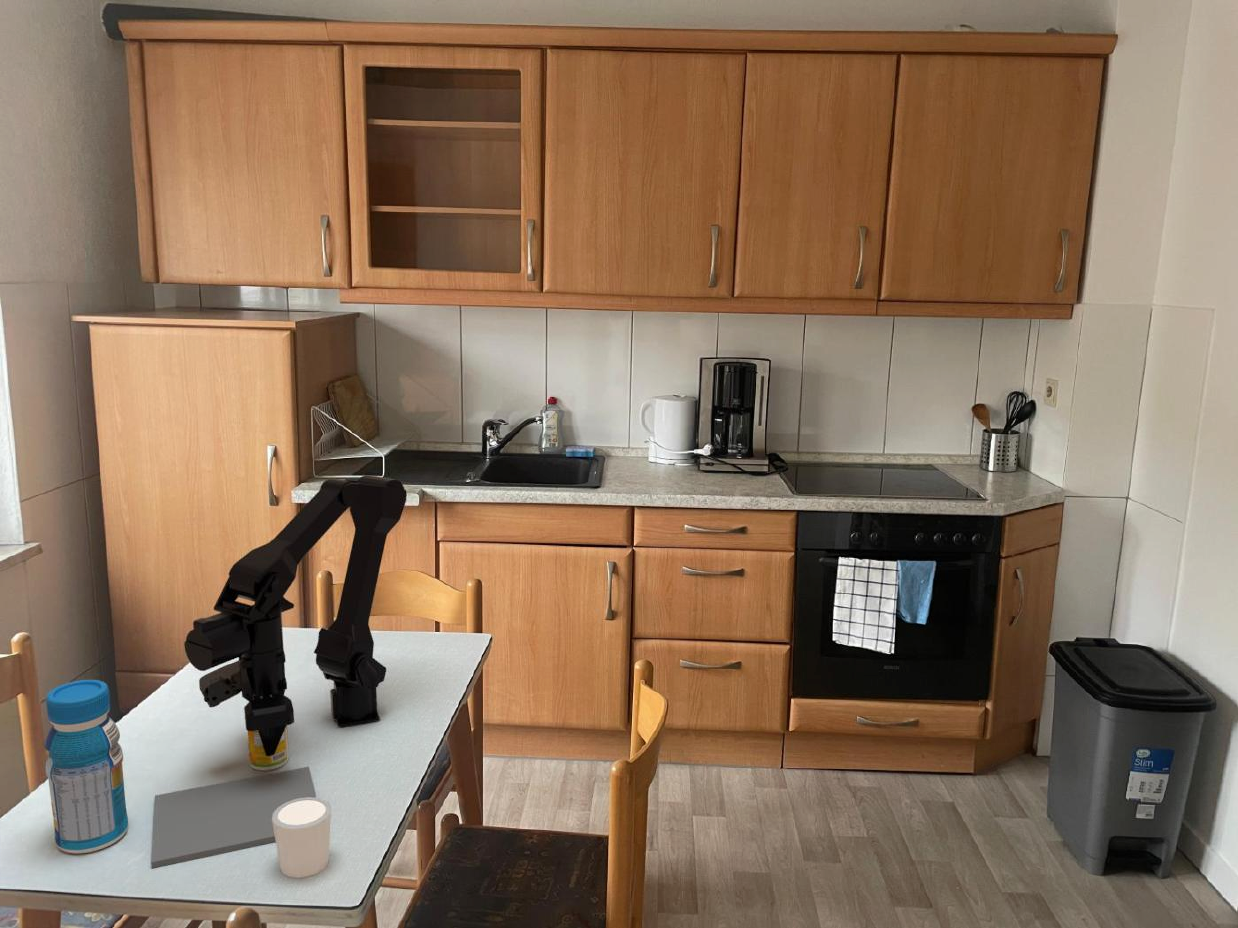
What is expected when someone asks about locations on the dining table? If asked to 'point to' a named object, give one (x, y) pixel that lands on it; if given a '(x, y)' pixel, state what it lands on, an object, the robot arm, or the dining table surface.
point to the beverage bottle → (84, 768)
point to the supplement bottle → (258, 754)
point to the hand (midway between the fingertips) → (268, 746)
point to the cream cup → (302, 836)
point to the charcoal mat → (222, 815)
